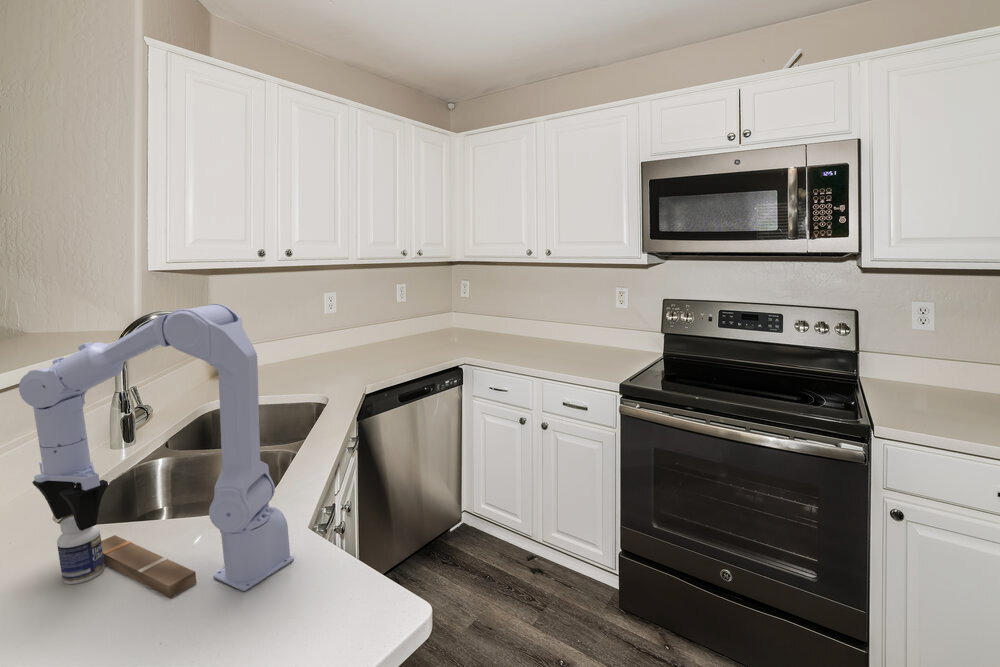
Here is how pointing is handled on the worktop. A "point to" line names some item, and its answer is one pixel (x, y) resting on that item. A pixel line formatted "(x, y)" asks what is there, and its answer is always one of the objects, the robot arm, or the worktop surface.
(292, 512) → the worktop surface
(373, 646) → the worktop surface
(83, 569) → the pill bottle
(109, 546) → the striped brown wooden bar
